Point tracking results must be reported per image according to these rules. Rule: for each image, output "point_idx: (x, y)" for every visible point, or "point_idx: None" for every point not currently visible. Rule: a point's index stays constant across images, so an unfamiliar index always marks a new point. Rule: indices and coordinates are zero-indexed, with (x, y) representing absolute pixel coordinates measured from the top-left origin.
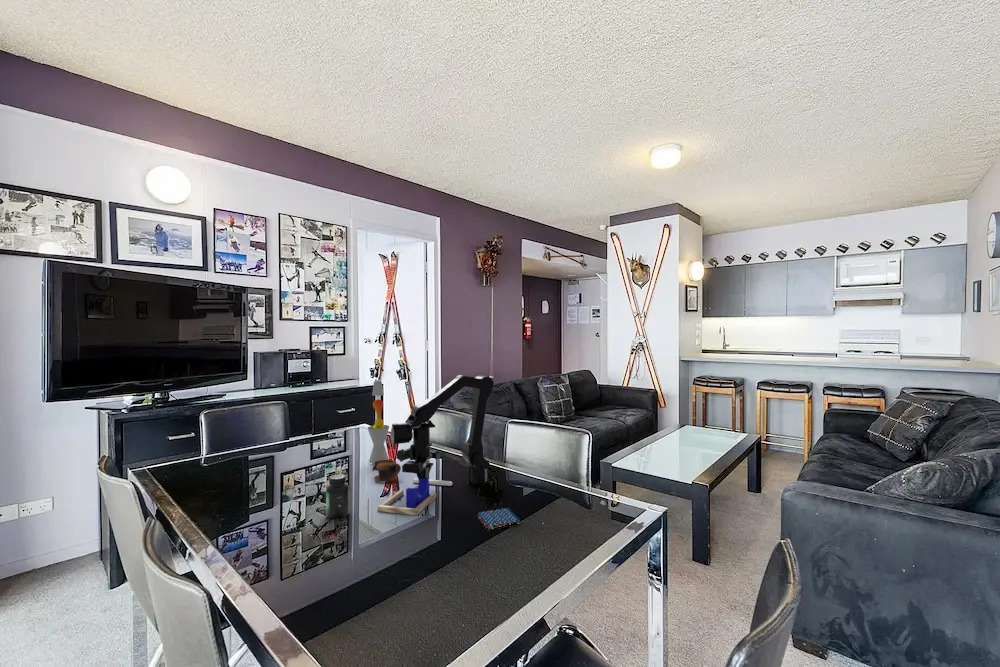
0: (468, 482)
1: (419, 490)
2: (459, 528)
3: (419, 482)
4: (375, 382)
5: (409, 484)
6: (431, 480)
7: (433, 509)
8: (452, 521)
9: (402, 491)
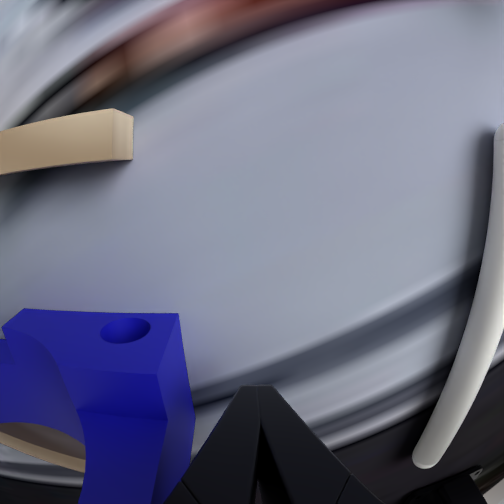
0: (432, 490)
1: (77, 417)
2: (3, 500)
3: (90, 470)
4: None
5: (458, 98)
6: (487, 340)
7: (29, 458)
8: (14, 495)
9: (86, 162)
